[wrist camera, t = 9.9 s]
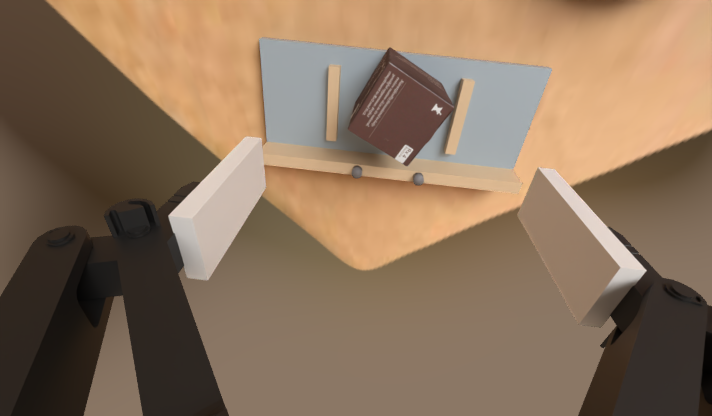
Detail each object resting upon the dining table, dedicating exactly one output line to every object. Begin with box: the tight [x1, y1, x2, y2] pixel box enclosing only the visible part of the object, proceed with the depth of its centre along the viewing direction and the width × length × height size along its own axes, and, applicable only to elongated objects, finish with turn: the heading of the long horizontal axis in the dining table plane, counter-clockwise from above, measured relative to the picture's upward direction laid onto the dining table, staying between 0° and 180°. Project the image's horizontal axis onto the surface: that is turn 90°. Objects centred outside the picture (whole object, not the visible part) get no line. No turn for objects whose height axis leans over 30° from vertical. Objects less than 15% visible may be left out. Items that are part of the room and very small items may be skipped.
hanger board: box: [259, 37, 552, 194], centre depth 31 cm, size 11×26×5 cm, turn 85°
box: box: [348, 48, 454, 166], centre depth 28 cm, size 6×6×7 cm
